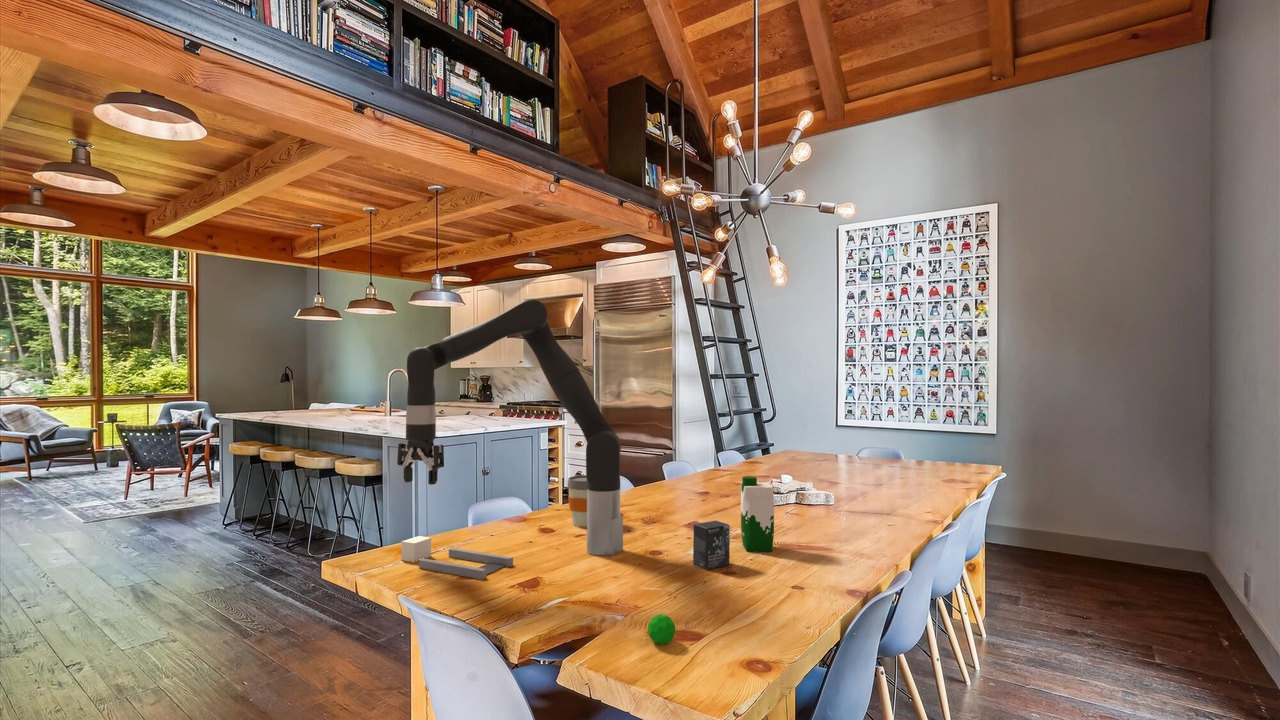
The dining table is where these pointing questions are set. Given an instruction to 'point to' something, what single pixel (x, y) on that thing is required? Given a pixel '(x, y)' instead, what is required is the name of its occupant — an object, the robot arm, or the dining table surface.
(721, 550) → the box
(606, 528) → the robot arm
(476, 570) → the channel
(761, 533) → the milk carton
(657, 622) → the polyhedron
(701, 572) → the dining table surface
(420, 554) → the block
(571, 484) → the reusable coffee cup
